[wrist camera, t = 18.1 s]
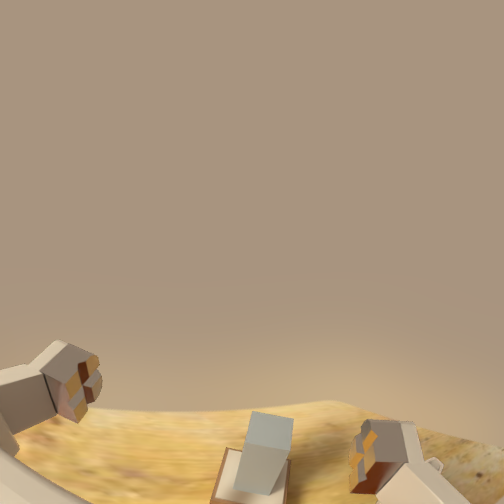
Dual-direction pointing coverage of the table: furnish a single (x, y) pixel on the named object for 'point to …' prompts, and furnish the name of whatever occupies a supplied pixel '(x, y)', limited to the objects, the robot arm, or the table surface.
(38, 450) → the table surface
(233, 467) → the plinth
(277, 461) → the grey tall block
